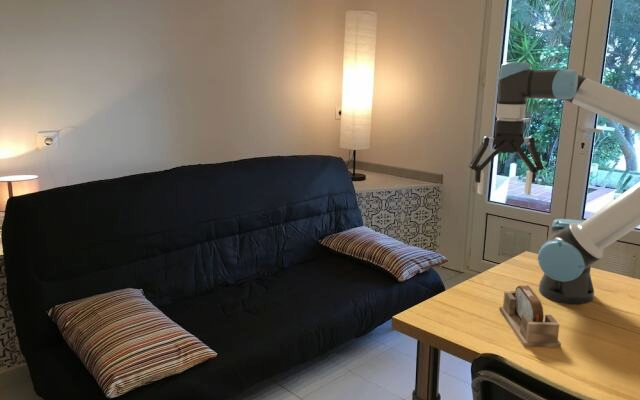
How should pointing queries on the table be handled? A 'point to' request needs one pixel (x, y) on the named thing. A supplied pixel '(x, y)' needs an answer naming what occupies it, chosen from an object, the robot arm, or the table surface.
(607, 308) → the table surface
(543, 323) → the rack
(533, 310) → the tin
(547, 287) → the robot arm
